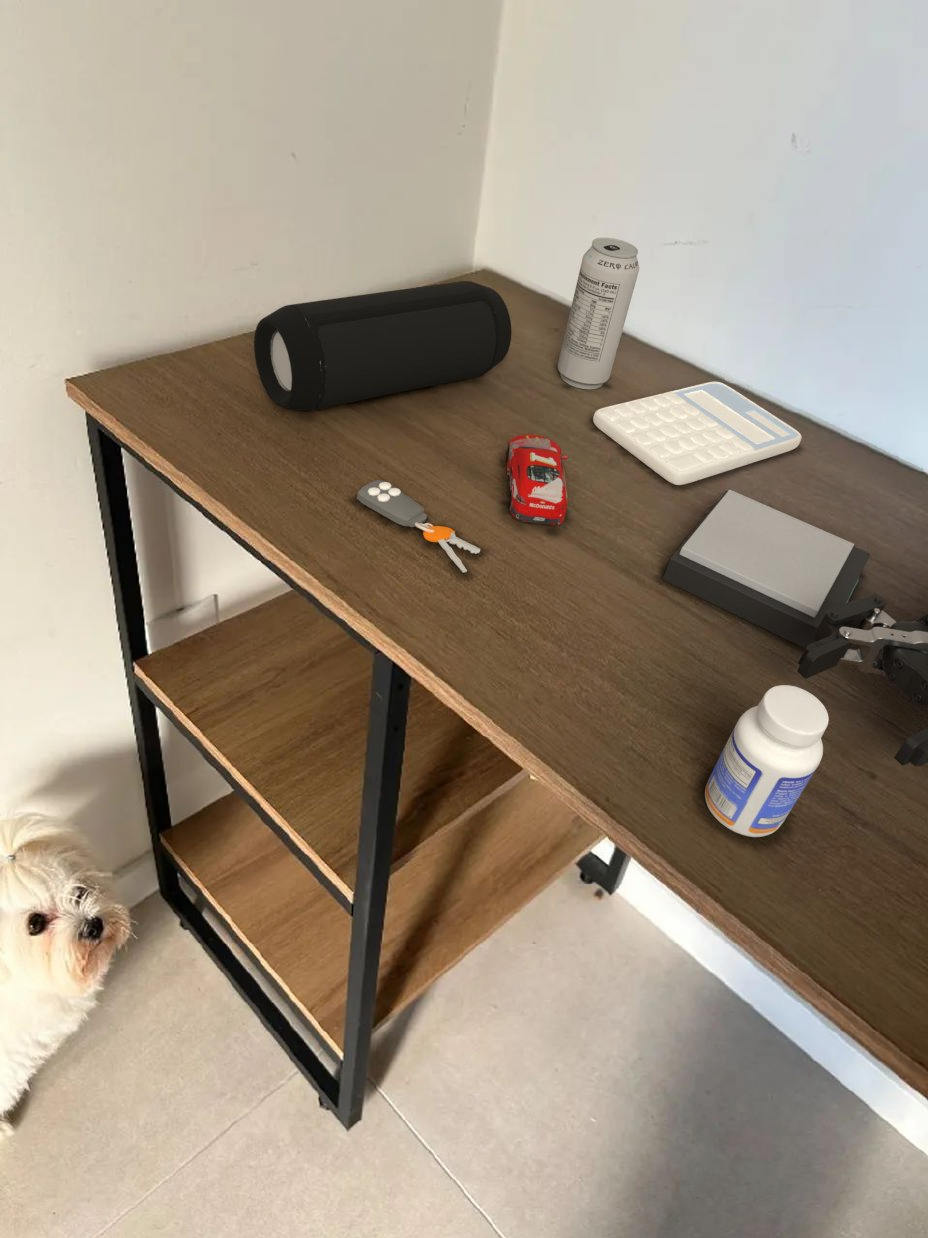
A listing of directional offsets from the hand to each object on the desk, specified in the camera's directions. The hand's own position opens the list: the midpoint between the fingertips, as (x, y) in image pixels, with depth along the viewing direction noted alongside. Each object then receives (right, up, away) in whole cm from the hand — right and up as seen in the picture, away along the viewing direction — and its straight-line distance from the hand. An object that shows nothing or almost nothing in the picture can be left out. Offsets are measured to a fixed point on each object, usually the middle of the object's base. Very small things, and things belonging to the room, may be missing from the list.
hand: (852, 708), depth 62 cm
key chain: (-30, +14, +18) cm, 37 cm away
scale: (+1, +10, +20) cm, 23 cm away
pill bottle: (-7, -7, 0) cm, 10 cm away
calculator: (-1, +25, +38) cm, 46 cm away
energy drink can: (-13, +33, +44) cm, 56 cm away
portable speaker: (-34, +30, +35) cm, 58 cm away
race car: (-19, +18, +25) cm, 37 cm away
